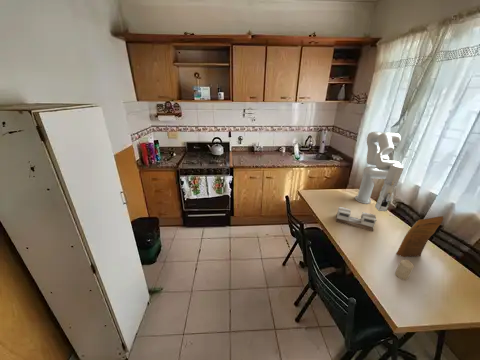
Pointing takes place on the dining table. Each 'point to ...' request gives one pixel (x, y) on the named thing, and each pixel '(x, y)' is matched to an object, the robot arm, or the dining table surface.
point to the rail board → (356, 219)
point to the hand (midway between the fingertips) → (382, 203)
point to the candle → (404, 269)
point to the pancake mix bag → (418, 237)
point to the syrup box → (379, 202)
